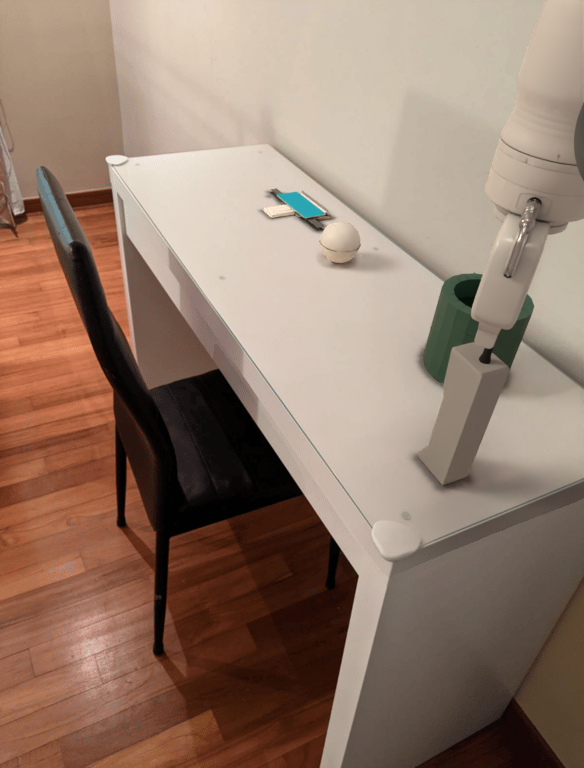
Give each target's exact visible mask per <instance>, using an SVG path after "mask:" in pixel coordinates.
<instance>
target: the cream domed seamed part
mask: <svg viewBox="0 0 584 768" xmlns="http://www.w3.org/2000/svg"><path fill="white" fill-rule="evenodd" d="M323 229H324V230H322V232H321V234H320V236H319V237H320V238H319V246H320V251H321V253H322V254H323V256H324V257H325V258H326V259H327V260H328V261H330V262H333V263H335V264H336V263H337V264H344V263H347V262H349V261H351V260H352V259H354V258H355V257H356V255H359V256H360V257H363V258H364V255H363V254H360V253H359V250H360V248H361V245H362V244H361V237H360V233H359V231H358V230H357V228H356V227H355V226H354V225H353V224H351V223H349V222H347V221H343V220H342V221H341V220H339V221H333V222H331V223H330V224H328V225H326V227H324V228H323Z"/></svg>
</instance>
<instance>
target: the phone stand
mask: <svg viewBox="0 0 584 768" xmlns="http://www.w3.org/2000/svg"><path fill="white" fill-rule="evenodd" d="M270 194H271V195H272V196H273V197H275V198H276V199H277V200H278V201H279V202H281V204H279V205H271V206H266V207H263V208H262V209H263V212H264V213H265V214H266V215H268V216H269V217H270V218H271V219H272V218H280V217H286V216H293V215H295V216H297V217H298V218H300V219H302V220H303V222H305V223H306V224H308V225H309V226H310V227H311V228H312V229H314V230H315V231H316V232H317V231H324V229H325V225H324V224H323V223H322V222H321V221H322V220H328V219H332V215H329V209H327V208H326V207H325V206H323V205H322V204H321V203H320V202H318V201H317V200H315V199H314V198H313V197H311V196H310V195H309V194H308V193H307V192H305V191H304V190H301V192H298V191H290V192H284V193H283V192H282V191H281V190H279V189H278V188H271V189H270Z"/></svg>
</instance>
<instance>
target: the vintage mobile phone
mask: <svg viewBox="0 0 584 768" xmlns="http://www.w3.org/2000/svg"><path fill="white" fill-rule="evenodd" d="M497 338H498V336H497ZM496 340H497V339H496ZM495 343H496V342H495ZM494 346H495V344H494ZM493 349H494V347H493V348H491V349H487V348H484V347H481V346H478V345H476V344H475V342H472V343H468V344H464V345H460V346H456V347H453V348H452V350H451V354H450V359H449V363H448V367H447V372H446V376H445V380H444V384H443V386H442V387H443V398H442V401H441V404H440V407H439V411H438V413H437V416H436V420H435V423H434V426H433V429H432V431H431V432H432V433H431V435H430V438H429V441H428V444H427V445H426V446H424V447H423V448H422V449H421V450H420V451H419V452H418V457H417V458H419V460H420V461H421V462H422V463H423V465H424V467H426V468H427V470H429V472H430V473H431V474H432V475H433V476H434V477H435V479H436V480H437V481H438V483H440V485H441V486H445V485H447V484H451V483H453V482H456V481H459V480H463V479H465V478H468V477H469V475H470V471H471V469H472V467H473V464H474V461H475V459H476V457H477V454H478V452H479V449H480V447H481V445H482V441H483V439H484V437H485V434H486V431H487V429H488V426H489V424H490V421H491V419H492V416H493V414H494V412H495V409H496V406H497V405H498V401H499V398H500V396H501V394H502V391H503V389H504V386H505V385H506V384H505V383H506V381H507V379H508V376H509V374H508V373H510V371H511V369H510V370H509V367H508V366H507V365H506V364H505V363H504V362H503V361H501V360H500V359H499V358H498V357H497V356H496V355H494V354H493V353H492V351H493Z"/></svg>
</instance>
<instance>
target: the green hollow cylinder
mask: <svg viewBox="0 0 584 768" xmlns="http://www.w3.org/2000/svg"><path fill="white" fill-rule="evenodd" d="M482 276H483V273H460V274H456V275H452V276H450V277H449V278H447V279H446V280H445V281H444V282H443V283H442V286H441V288H440V292H439V296H438V300H437V304H436V307H435V311H434V314H433V318H432V321H431V325H430V329H429V333H428V335H427V339H426V343H425V347H424V351H423V356H422V361H423V365H424V367H425V369H426V371H427V372H428V374H429V375H431V376H432V378H434V379H435V380H436V381H438V382H439V383H441V384H443V385H444V380H445V376H446V372H447V367H448V363H449V359H450V354H451V350H452V348H453V347H456V346H460V345H464V344H468V343H472V342H474V340H475V337H476V334H477V331H478V326H479V322H478V321H476V320H474V319H472V317H471V310H472V306H473V302H474V299H475V296H476V293H477V290H478V287H479V285H480V282H481V279H482ZM534 309H535V304H534V301H533V299H532V297H531V296H530V295H529V294H528V293H527V295H526V298H525V300H524V303H523V306H522V308H521V311H520V313H519V316H518V318H517V321H516V323H515V324H514V326H513V327H512V328H511V329H509V330H505V329H501V330H500V332H499V334H498V338H497V340H496V343H495V346H494V349H493V351H492V353H493V354H494V355H496V356H497V357H498V358H499V359H500V360H501V361H503V362H504V363H505V364H506V365H507V366H508V367H509V370H510V371H511V368H512V366H513V363H514V361H515V359H516V357H517V356H516V355H517V354H518V351H519V348H520V345H521V343H522V342H523V341H522V340H523V338H524V336H525V333H526V330H527V328H528V325H529V322H530V320H531V317H532V316H533V312H534ZM509 373H510V372H509ZM509 373H508V375H509Z"/></svg>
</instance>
